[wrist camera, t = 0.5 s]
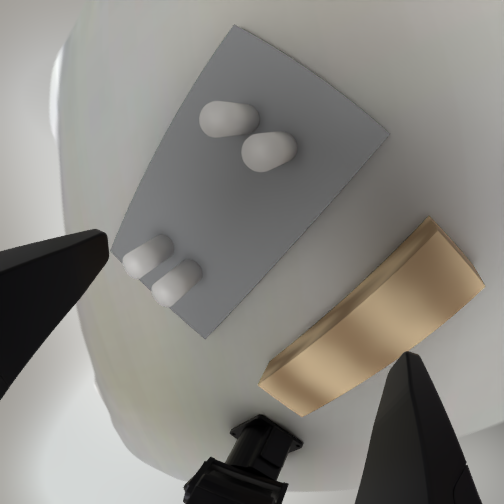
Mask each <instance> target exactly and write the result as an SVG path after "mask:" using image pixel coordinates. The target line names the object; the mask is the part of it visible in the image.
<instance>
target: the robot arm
mask: <svg viewBox="0 0 504 504" xmlns="http://www.w3.org/2000/svg"><path fill="white" fill-rule="evenodd" d="M108 259H109V248H108V238H107V235H106V233H104V232H102V231H100V230H98V229H92V230H87V231H83V232H78V233H74V234H69V235H65V236H61V237H56V238H53V239H48V240H44V241H40V242H36V243H31V244H28V245H23V246H19V247H15V248H12V249H8V250H4V251H0V400H1V398H2V397H3V396H4V394H5V392H6V391H7V390H8V389H9V387H10V385H11V384H12V383H13V381H14V380H15V379H16V377H17V376H18V374H19V373H20V372H21V371H22V369H23V368H24V367H25V365H26V364H27V363H28V361H29V360H30V359H31V357H32V356H33V355H34V354H35V352H36V351H37V350H38V348H39V347H40V346H41V345H42V343H43V342H44V341H45V340H46V338H47V337H48V336H49V335H50V334H51V332H52V331H53V330H54V329H55V327H56V326H57V325H58V324H59V323H60V321H61V320H62V319H63V318H64V317H65V315H66V314H67V313H68V312H69V311H70V309H71V308H72V307H73V306H74V305H75V304H76V303H77V301H78V300H79V299H80V298H81V297H82V295H83V294H84V293H85V291H86V290H87V289H88V287H89V286H90V284H91V283H92V282H93V280H94V279H95V278H96V276H97V275H98V274H99V272H100V271H101V270H102V268H103V267H104V266H105V264H106V263H107V261H108ZM230 434H231V435H232V436H234V437H235V438H237V441H236V443H235V445H234V447H233V449H232V451H231V453H230V454H229V456H228V458H227V460H226V462H225V463H223V462H220V461H218V460H215V458H213V457H210V458H209V459H208V460H207V461H204V463H203V465H202V466H201V468H200V469H199V470H198V472H197V473H196V474H195V475H194V476H193V477H192V478H191V479H190V480H189V481H188V482H187V483H186V484H185V486H184V490H185V496H184V500H183V502H184V503H185V504H282V501H283V498H284V495H285V493H286V490H287V487H288V483H281V482H278V481H277V478H278V476H279V473H280V471H281V468H282V467H283V465H284V462H285V460H286V457H287V455H288V453H290V452H292V451H295V450H297V449H300V448H302V446H303V443H302V442H301V441H300V440H298V439H296V438H295V437H293V436H292V435H290V434H289V433H287V432H286V431H284V430H283V429H281V428H280V427H279V426H277V425H276V424H274V423H273V422H271V421H270V420H268V419H267V418H266V417H264V416H262V415H258V416H256V417H254V418H253V419H251V420H249V421H247V422H245V423H243V424H241V425H239V426H237V427H235V428H233V429H232V430H231V431H230ZM355 504H482V502H481V499H480V497H479V495H478V492H477V489H476V487H475V484H474V481H473V479H472V476H471V473H470V470H469V468H468V465H466V460H465V457H464V455H463V452H462V449H461V447H460V444H459V442H458V439H457V437H456V434H455V432H454V429H453V427H452V425H451V422H450V420H449V418H448V415H447V413H446V411H445V408H444V406H443V404H442V402H441V399H440V397H439V395H438V393H437V391H436V389H435V386H434V384H433V382H432V380H431V378H430V376H429V374H428V372H427V370H426V368H425V366H424V363H423V361H422V359H421V357H420V356H419V355H418V354H415V353H412V352H409V351H405V352H404V353H403V354H402V355H401V356H400V357H399V359H398V360H397V361H396V363H395V364H394V365H393V367H392V368H391V369H390V371H389V373H388V376H387V379H386V383H385V387H384V391H383V394H382V398H381V401H380V405H379V408H378V412H377V415H376V418H375V422H374V426H373V430H372V435H371V440H370V444H369V449H368V454H367V458H366V463H365V467H364V471H363V475H362V479H361V483H360V487H359V490H358V494H357V498H356V501H355Z"/></svg>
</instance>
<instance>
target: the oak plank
mask: <svg viewBox="0 0 504 504" xmlns="http://www.w3.org/2000/svg"><path fill="white" fill-rule="evenodd" d="M484 287H485V285H484V283H483V281H482V279H481V278H480V276H479V274H478V272H477V271H476V269H475V267H474V266H473V264H472V263H471V262H470V261H469V260H468V258H467V257H466V256H465V255H464V254H463V252H462V251H461V250H460V249H459V248H458V247H457V246H456V244H455V243H454V242H453V241H452V240H451V239H450V238H449V237H448V235H447V234H446V233H445V232H444V231H443V230H442V229H441V228H440V227H439V226H438V225H437V224H436V222H435V221H434V220H433V219H432V218H431V217H430V216H428V217H427V218H426V219H425V220H424V221H423V223H422V224H421V225H420V226H419V227H418V228H417V229H416V230H415V231H414V232H413V233H412V234H411V235H410V236H409V237H408V238H407V239H406V240H405V241H404V242H403V243H402V244H401V245H400V246H399V247H398V248H397V249H396V250H395V251H394V252H393V253H392V254H391V255H390V256H389V257H388V258H387V259H386V260H385V261H384V262H383V263H382V264H381V265H380V266H379V267H378V268H377V269H376V270H375V271H374V272H372V273H371V274H370V275H369V276H368V277H367V278H366V279H365V280H364V281H363V282H362V283H361V284H360V285H359V286H358V287H356V288H355V289H354V290H353V291H352V292H351V293H350V294H349V295H348V296H347V297H345V298H344V299H343V300H342V301H341V302H340V303H339V304H338V305H336V306H335V307H334V308H333V309H332V310H331V311H330V312H329V313H327V314H326V315H325V316H324V317H323V318H322V319H320V320H319V321H318V322H317V323H316V324H315V325H313V326H312V327H311V328H310V329H309V330H308V331H306V332H305V333H304V334H303V335H302V336H300V337H299V338H298V339H297V340H296V341H294V342H293V343H292V344H291V345H289V346H288V347H287V348H286V349H284V350H283V351H282V352H281V353H279V354H278V355H277V356H276V357H274V358H273V359H272V360H271V361H269V363H268V365H267V367H266V369H265V371H264V373H263V375H262V377H261V379H260V381H259V383H258V386H259V387H261V388H262V389H263V390H265V391H266V392H267V393H269V394H270V395H271V396H273V397H274V398H275V399H277V400H278V401H280V402H281V403H282V404H284V405H285V406H287V407H288V408H289V409H291V410H292V411H294V412H295V413H296V414H298V415H299V416H301V417H304V416H305V415H307V414H309V413H311V412H313V411H315V410H316V409H318V408H320V407H322V406H324V405H325V404H327V403H329V402H331V401H332V400H334V399H336V398H337V397H339V396H341V395H343V394H344V393H346V392H348V391H349V390H351V389H352V388H354V387H356V386H357V385H359V384H360V383H362V382H364V381H365V380H367V379H368V378H370V377H371V376H373V375H374V374H376V373H377V372H379V371H380V370H382V369H383V368H385V367H386V366H388V365H389V364H391V363H392V362H393V361H395V360H396V359H398V358H399V357H400V356H401V355H402V354H403V353H404V352H405V351H409V350H410V349H411V348H413V347H414V346H416V345H417V344H418V343H419V342H421V341H422V340H423V339H425V338H426V337H427V336H429V335H430V334H431V333H432V332H434V331H435V330H436V329H437V328H439V327H440V326H441V325H442V324H444V323H445V322H446V321H447V320H448V319H450V318H451V317H452V316H453V315H454V314H456V313H457V312H458V311H459V310H460V309H461V308H462V307H464V306H465V305H466V304H467V303H468V302H469V301H470V300H471V299H473V298H474V297H475V296H476V295H477V294H478V293H479V292H480V291H481V290H482V289H483V288H484Z"/></svg>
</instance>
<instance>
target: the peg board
mask: <svg viewBox="0 0 504 504" xmlns="http://www.w3.org/2000/svg"><path fill="white" fill-rule="evenodd" d="M389 135H390V133H389V132H388V131H387V130H385V129H384V128H383V127H382V126H381V125H380V124H379V123H377V122H376V121H375V120H374V119H373V118H371V117H370V116H369V115H368V114H367V113H365V112H364V111H363V110H362V109H361V108H359V107H358V106H357V105H356V104H354V103H353V102H352V101H351V100H349V99H348V98H347V97H345V96H344V95H343V94H342V93H340V92H339V91H338V90H336V89H335V88H334V87H332V86H331V85H330V84H328V83H327V82H326V81H324V80H323V79H321V78H320V77H319V76H317V75H316V74H314V73H313V72H311V71H310V70H309V69H307V68H306V67H304V66H303V65H301V64H300V63H298V62H297V61H295V60H294V59H292V58H291V57H289V56H287V55H286V54H284V53H283V52H281V51H280V50H278V49H276V48H275V47H273V46H271V45H270V44H268V43H266V42H265V41H263V40H261V39H260V38H258V37H256V36H254V35H253V34H251V33H249V32H247V31H246V30H244V29H242V28H240V27H238V26H236V25H235V24H234V25H233V27H232V28H231V30H230V31H229V32H228V34H227V35H226V37H225V38H224V40H223V41H222V42H221V44H220V45H219V47H218V48H217V50H216V51H215V53H214V54H213V56H212V57H211V59H210V60H209V62H208V63H207V65H206V66H205V68H204V69H203V71H202V72H201V74H200V76H199V77H198V79H197V80H196V82H195V83H194V85H193V87H192V88H191V90H190V92H189V93H188V95H187V97H186V98H185V100H184V102H183V103H182V105H181V107H180V108H179V110H178V112H177V114H176V115H175V117H174V119H173V121H172V122H171V124H170V126H169V128H168V130H167V131H166V133H165V135H164V137H163V139H162V141H161V142H160V144H159V146H158V148H157V150H156V152H155V154H154V156H153V158H152V160H151V162H150V164H149V166H148V168H147V170H146V172H145V174H144V176H143V178H142V180H141V182H140V184H139V186H138V188H137V190H136V192H135V195H134V197H133V199H132V201H131V203H130V205H129V208H128V210H127V212H126V214H125V217H124V219H123V221H122V224H121V226H120V228H119V231H118V233H117V235H116V238H115V240H114V243H113V245H112V247H111V250H110V251H111V252H112V253H113V254H114V255H115V256H116V258H117V259H118V260H119V261H120V262H122V263H123V267H124V269H125V271H126V273H127V274H128V275H129V276H130V277H132V278H134V279H139V280H140V281H141V282H142V283H143V284H144V285H145V286H146V287H147V288H148V289H149V290H150V291H152V295H153V297H154V299H155V300H156V301H157V302H158V303H159V304H160V305H162V306H164V307H169V308H170V309H171V310H172V311H173V312H174V313H176V314H177V315H178V316H179V317H180V318H181V319H182V320H183V321H185V322H186V323H187V324H188V325H189V326H190V327H191V328H193V329H194V330H195V331H196V332H197V333H198V334H200V335H201V336H202V337H203V338H204V339H206V338H207V337H208V336H209V335H210V334H211V333H212V332H213V331H214V329H215V328H216V327H217V326H218V325H219V324H220V323H221V322H222V321H223V320H224V319H225V318H226V317H227V316H228V315H229V314H230V312H231V311H232V310H233V309H234V308H235V307H236V306H237V305H238V304H239V303H240V302H241V301H242V300H243V299H244V297H245V296H246V295H247V294H248V293H249V292H250V291H251V290H252V289H253V288H254V287H255V286H256V284H257V283H258V282H259V281H260V280H261V279H262V278H263V277H264V276H265V275H266V274H267V272H268V271H269V270H270V269H271V268H272V267H273V266H274V265H275V264H276V263H277V262H278V260H279V259H280V258H281V257H282V256H283V255H284V254H285V253H286V252H287V251H288V249H289V248H290V247H291V246H292V245H293V244H294V243H295V242H296V241H297V239H298V238H299V237H300V236H301V235H302V234H303V233H304V232H305V231H306V229H307V228H308V227H309V226H310V225H311V224H312V223H313V222H314V221H315V219H316V218H317V217H318V216H319V215H320V214H321V213H322V212H323V210H324V209H325V208H326V207H327V206H328V205H329V204H330V203H331V201H332V200H333V199H334V198H335V197H336V196H337V195H338V193H339V192H340V191H341V190H342V189H343V188H344V187H345V186H346V184H347V183H348V182H349V181H350V180H351V179H352V178H353V176H354V175H355V174H356V173H357V172H358V171H359V169H360V168H361V167H362V166H363V165H364V164H365V163H366V161H367V160H368V159H369V158H370V157H371V156H372V154H373V153H374V152H375V151H376V150H377V149H378V148H379V146H380V145H381V144H382V143H383V142H384V141H385V139H386V138H387V137H388V136H389Z"/></svg>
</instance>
